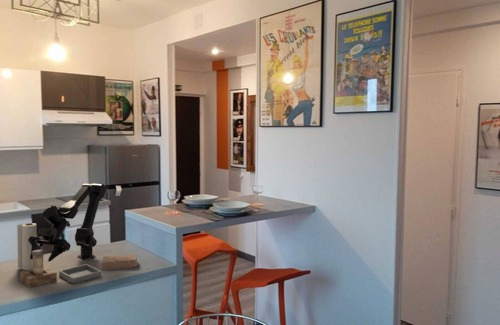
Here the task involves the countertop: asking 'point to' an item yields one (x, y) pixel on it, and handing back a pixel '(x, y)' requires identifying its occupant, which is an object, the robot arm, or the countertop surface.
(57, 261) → the countertop surface
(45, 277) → the socket block
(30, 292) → the countertop surface
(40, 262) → the pin
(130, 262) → the brick
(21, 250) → the paper towel roll
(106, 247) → the countertop surface
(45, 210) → the robot arm
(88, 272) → the tray
